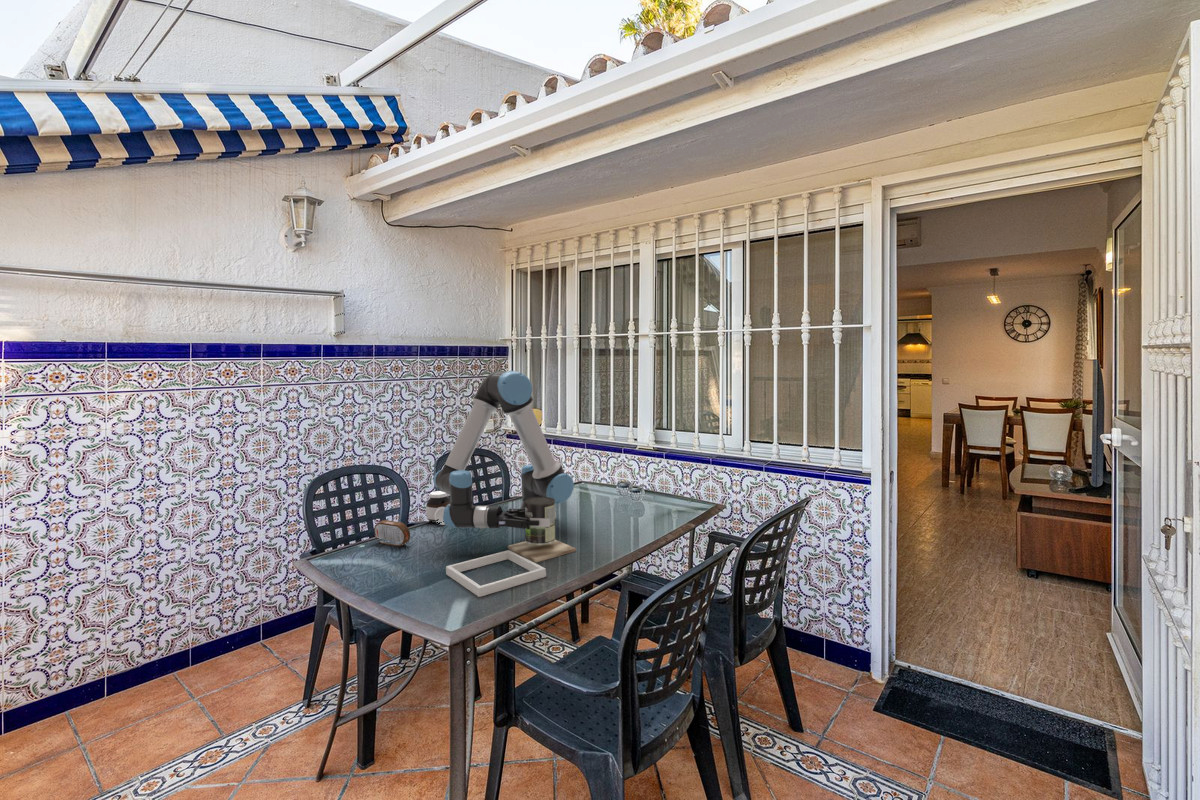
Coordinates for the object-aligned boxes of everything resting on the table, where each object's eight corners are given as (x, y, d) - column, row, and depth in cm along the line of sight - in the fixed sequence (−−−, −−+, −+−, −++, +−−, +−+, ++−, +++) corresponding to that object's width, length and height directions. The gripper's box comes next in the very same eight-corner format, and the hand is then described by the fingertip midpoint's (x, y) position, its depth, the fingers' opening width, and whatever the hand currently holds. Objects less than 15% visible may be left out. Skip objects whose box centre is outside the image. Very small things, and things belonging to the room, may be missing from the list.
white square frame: (446, 574, 173) (445, 566, 173) (509, 557, 187) (509, 549, 186) (479, 597, 156) (478, 588, 156) (545, 576, 170) (545, 568, 169)
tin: (411, 545, 200) (410, 522, 200) (404, 548, 198) (403, 525, 197) (379, 540, 207) (378, 518, 206) (373, 543, 204) (371, 520, 203)
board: (507, 548, 195) (507, 545, 195) (546, 538, 205) (546, 535, 205) (535, 562, 181) (535, 559, 181) (575, 551, 191) (575, 548, 191)
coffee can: (530, 547, 186) (529, 505, 185) (521, 538, 196) (520, 498, 195) (560, 543, 190) (559, 501, 189) (549, 534, 200) (548, 495, 199)
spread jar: (440, 516, 237) (439, 489, 236) (462, 519, 232) (461, 491, 232) (420, 524, 227) (419, 495, 226) (442, 527, 222) (441, 498, 221)
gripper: (498, 518, 206) (558, 519, 203) (478, 537, 183) (546, 539, 181) (498, 498, 205) (558, 499, 203) (478, 515, 183) (545, 516, 181)
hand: (552, 518), depth 192 cm, fingers closed on coffee can, 10 cm apart
